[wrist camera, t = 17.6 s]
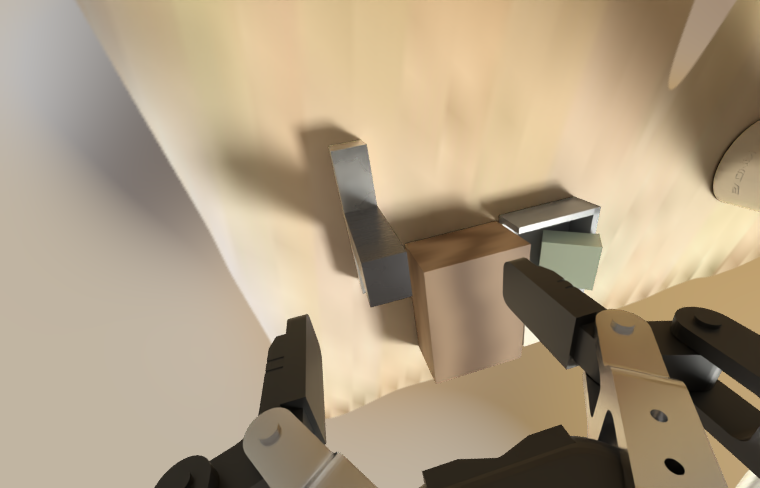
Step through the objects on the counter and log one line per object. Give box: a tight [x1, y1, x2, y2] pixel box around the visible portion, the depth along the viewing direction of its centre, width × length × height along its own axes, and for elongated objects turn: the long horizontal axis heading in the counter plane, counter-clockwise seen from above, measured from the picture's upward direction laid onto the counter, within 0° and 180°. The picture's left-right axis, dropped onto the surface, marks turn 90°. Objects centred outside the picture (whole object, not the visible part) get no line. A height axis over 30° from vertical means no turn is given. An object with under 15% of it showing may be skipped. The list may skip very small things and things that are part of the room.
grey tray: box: [499, 197, 601, 293], centre depth 31 cm, size 8×14×3 cm, turn 10°
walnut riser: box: [405, 221, 531, 384], centre depth 29 cm, size 9×13×5 cm
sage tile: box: [539, 230, 602, 290], centre depth 29 cm, size 4×4×2 cm
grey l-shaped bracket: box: [328, 139, 412, 307], centre depth 21 cm, size 2×12×10 cm, turn 10°
